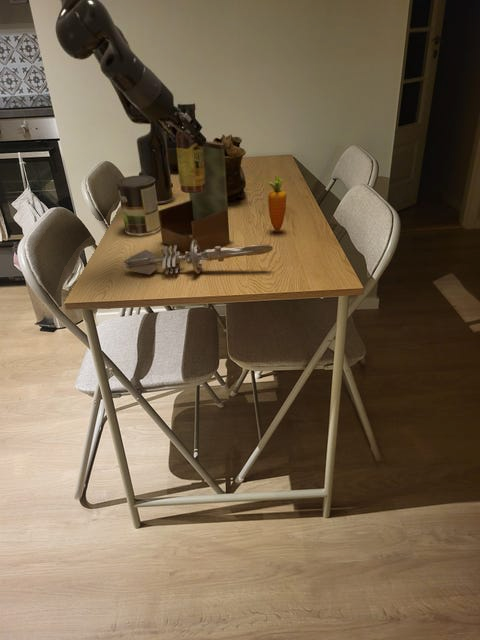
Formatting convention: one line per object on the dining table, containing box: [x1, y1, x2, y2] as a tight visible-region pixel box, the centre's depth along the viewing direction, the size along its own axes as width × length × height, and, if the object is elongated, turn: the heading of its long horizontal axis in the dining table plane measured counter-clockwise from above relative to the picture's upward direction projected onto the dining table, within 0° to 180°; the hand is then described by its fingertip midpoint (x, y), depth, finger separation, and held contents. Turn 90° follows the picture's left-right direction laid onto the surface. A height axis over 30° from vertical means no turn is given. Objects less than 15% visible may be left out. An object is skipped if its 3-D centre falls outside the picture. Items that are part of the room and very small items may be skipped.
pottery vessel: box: [212, 134, 247, 202], centre depth 153 cm, size 25×11×20 cm, turn 3°
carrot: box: [267, 175, 287, 233], centre depth 126 cm, size 5×5×15 cm
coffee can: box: [116, 174, 161, 237], centre depth 132 cm, size 10×10×14 cm
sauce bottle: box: [176, 101, 205, 194], centre depth 112 cm, size 6×6×20 cm
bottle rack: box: [158, 140, 231, 253], centre depth 119 cm, size 14×12×25 cm
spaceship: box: [123, 239, 274, 276], centre depth 109 cm, size 8×35×8 cm
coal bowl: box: [166, 130, 204, 170], centre depth 187 cm, size 20×20×19 cm
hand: (194, 141), depth 112 cm, fingers closed on sauce bottle, 6 cm apart
